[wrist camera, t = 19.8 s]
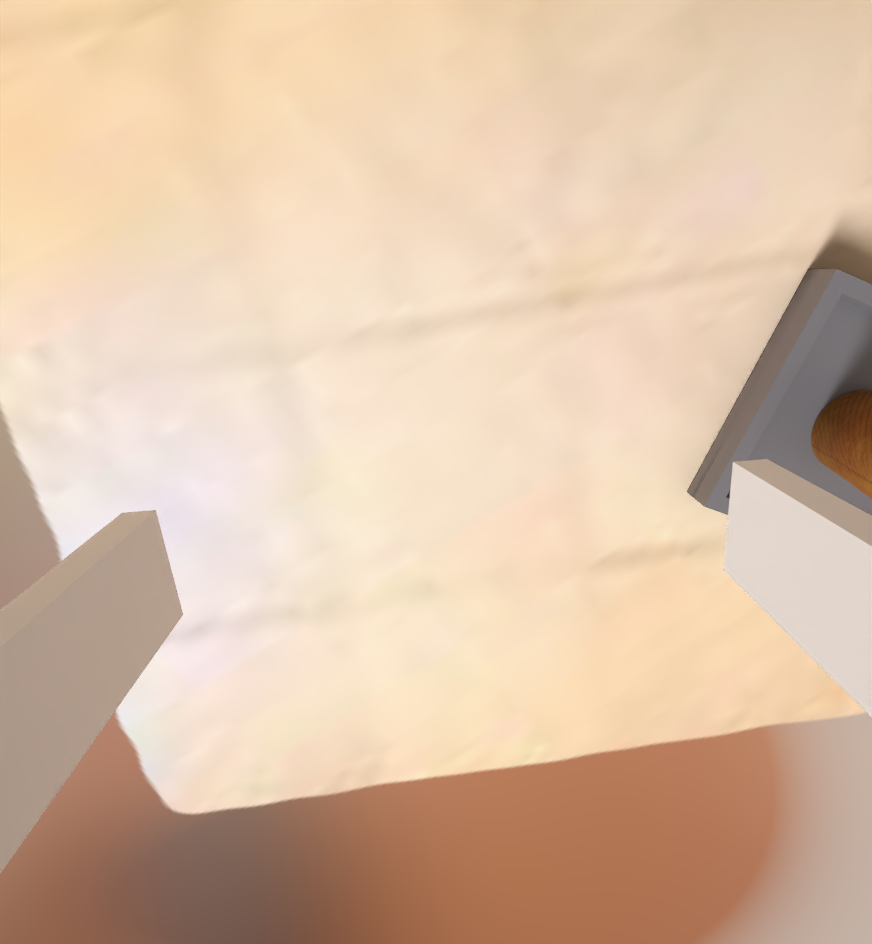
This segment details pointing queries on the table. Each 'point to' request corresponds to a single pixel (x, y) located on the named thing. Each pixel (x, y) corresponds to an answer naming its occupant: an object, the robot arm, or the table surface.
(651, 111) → the table surface
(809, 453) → the charcoal serving tray
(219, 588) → the table surface
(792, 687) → the table surface
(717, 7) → the table surface
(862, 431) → the disposable coffee cup
